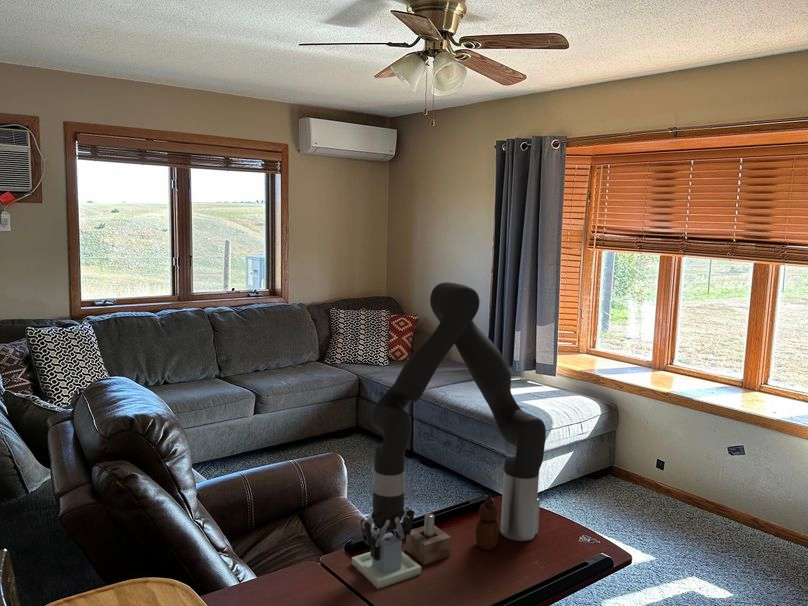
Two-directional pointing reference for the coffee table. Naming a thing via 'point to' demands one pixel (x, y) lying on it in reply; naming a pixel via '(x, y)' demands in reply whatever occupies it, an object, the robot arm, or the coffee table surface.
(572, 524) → the coffee table surface
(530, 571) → the coffee table surface
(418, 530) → the wooden socket block
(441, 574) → the coffee table surface
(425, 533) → the pin
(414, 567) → the tray
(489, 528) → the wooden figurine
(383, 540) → the slate block
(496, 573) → the coffee table surface
